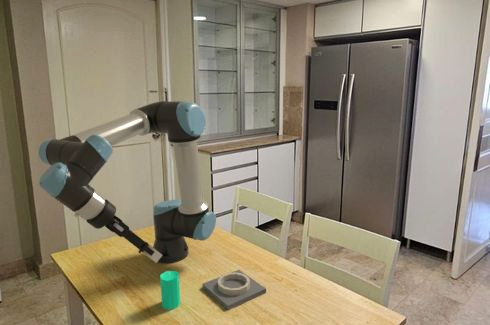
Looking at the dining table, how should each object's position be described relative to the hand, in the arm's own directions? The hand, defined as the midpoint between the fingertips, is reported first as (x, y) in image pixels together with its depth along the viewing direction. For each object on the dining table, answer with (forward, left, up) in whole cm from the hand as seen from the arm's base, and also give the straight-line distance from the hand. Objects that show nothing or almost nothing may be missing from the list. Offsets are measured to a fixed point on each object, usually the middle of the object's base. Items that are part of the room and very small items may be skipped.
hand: (148, 250), depth 106 cm
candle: (-2, +7, -22) cm, 23 cm away
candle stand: (+4, +28, -22) cm, 36 cm away
